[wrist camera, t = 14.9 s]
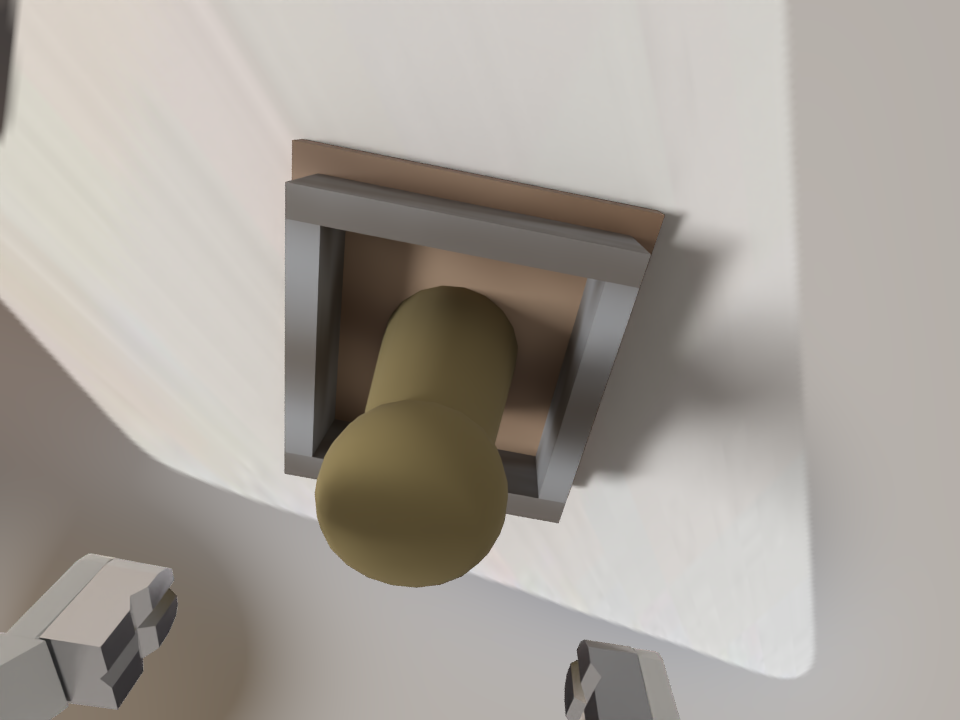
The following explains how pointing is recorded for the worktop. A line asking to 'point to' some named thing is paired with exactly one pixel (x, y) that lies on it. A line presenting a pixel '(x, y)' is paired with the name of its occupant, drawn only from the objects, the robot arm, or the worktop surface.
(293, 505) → the worktop surface
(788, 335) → the worktop surface
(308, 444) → the grey-rimmed square tray
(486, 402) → the cork
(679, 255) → the worktop surface
